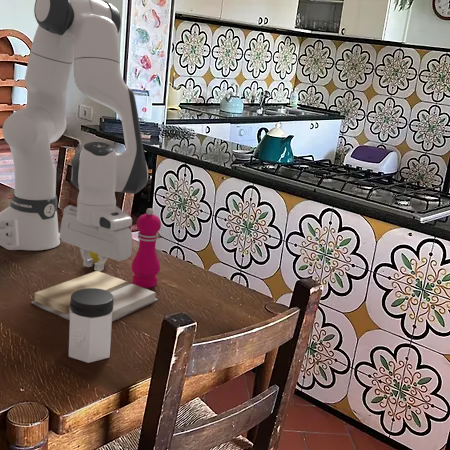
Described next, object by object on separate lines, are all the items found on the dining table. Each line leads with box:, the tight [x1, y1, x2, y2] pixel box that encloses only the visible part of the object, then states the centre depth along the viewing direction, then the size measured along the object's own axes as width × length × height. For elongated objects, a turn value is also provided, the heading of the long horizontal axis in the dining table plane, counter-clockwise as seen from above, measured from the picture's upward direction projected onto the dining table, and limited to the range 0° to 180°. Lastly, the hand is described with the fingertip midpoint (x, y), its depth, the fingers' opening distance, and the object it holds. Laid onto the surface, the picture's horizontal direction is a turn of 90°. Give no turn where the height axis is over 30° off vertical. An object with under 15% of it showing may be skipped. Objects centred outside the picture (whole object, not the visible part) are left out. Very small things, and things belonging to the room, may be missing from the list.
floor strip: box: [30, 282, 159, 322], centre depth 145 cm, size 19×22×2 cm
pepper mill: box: [130, 207, 162, 289], centre depth 156 cm, size 7×7×20 cm
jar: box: [68, 288, 114, 364], centre depth 121 cm, size 9×8×12 cm
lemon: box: [89, 251, 100, 264], centre depth 167 cm, size 6×6×8 cm
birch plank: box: [34, 270, 128, 314], centre depth 147 cm, size 10×20×2 cm, turn 148°
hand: (93, 268), depth 149 cm, fingers open, 2 cm apart
